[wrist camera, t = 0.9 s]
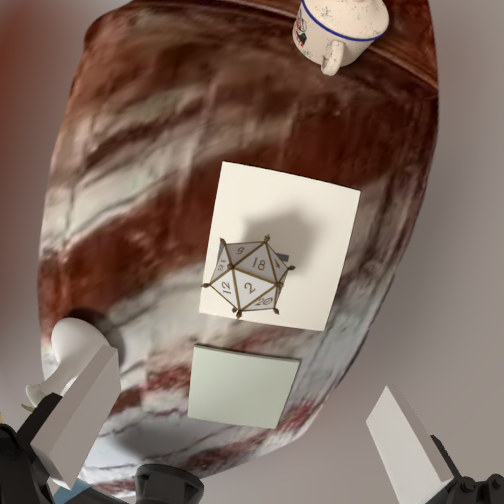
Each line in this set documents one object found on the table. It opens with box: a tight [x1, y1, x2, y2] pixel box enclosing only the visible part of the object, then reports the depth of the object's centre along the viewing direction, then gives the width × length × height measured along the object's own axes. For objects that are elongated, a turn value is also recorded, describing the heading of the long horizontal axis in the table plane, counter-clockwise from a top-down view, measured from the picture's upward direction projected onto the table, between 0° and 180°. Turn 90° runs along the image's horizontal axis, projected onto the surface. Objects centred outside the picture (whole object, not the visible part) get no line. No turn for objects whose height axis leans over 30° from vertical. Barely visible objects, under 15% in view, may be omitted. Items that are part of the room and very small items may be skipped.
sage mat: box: [187, 345, 300, 429], centre depth 37 cm, size 14×14×1 cm
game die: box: [201, 234, 296, 319], centre depth 29 cm, size 9×8×10 cm
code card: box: [199, 162, 360, 331], centre depth 33 cm, size 18×16×1 cm
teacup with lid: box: [293, 0, 389, 76], centre depth 21 cm, size 12×9×12 cm
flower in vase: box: [0, 318, 111, 424], centre depth 24 cm, size 13×11×25 cm
